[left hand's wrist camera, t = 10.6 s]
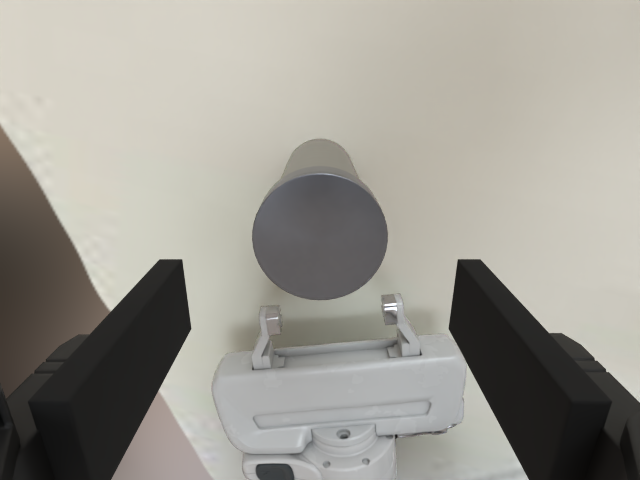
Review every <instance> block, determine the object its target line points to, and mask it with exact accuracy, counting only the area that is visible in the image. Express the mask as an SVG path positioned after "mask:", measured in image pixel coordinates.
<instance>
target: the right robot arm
mask: <svg viewBox="0 0 640 480" xmlns="http://www.w3.org/2000/svg"><path fill="white" fill-rule="evenodd" d="M381 302H382V315H383V317H384V322H385V325H389V324H396V325H397V327H398V328H399V329H397V338H386V339H374V340H364V341H352V342H341V343H330V344H319V345H307V346H296V347H285V348H274V349H273V344H272V341H271V340H269V338H270V335H278V334H281V327H282V322H283V321H282V315H281V314H280V311H281V309H280V305H271V306H261V308H260V312H259V322H260V328H261V330H260V332H259V334H258V337H257V339H256V341H255V345H254V349H253V350H251V351H240V352H229V353H227V354H225V356H224V357H223V358H222V360H221V361H220V363H219V364H218V366H217V369H216V371H215V374H214V377H213V381H212V394H213V399H214V403H215V406H216V409H217V412H218V415H219V418H220V421H221V423H222V426H223V428H224V431H225V433H226V435H227V437H228V439H229V440H230V442H231V443H232V444H233V445H234V446H235V447H236V448H237V449H239V450H240V451H242V452H243V461H242V469H243V474H244V476H245V477H246V478H247V479H249V480H396V475H397V460H396V442H395V439H396V438H401V437H413V436H417V435H418V436H419V435H423V434H432V435H438V434H444V433H446V432H447V429H448V428H452V427H454V426H455V425H457V424H459V423H461V422H462V420H463V417H464V399H463V393H464V388H465V381H466V371H467V366H466V361H465V359H464V357H463V355H462V353H461V351H460V349H459V347H458V345H457V344H456V343H455V341H454V340H453V339H451V338H450V337H449V336H448V335H447V334H430V335H419V336H417V334H416V332H415V329H414V327H413V325H412V324H411V323H410V321H409V320H408V319H407V318H406V316H405V315H404V305H403V300H402V298H401V295H400V294H390V295H381Z"/></svg>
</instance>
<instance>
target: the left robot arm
mask: <svg viewBox="0 0 640 480" xmlns="http://www.w3.org/2000/svg"><path fill="white" fill-rule="evenodd" d="M190 330H191V323H190V315H189V308H188V300H187V293H186V285H185V278H184V270H183V262H182V259H160V260H159V261H158V262H157V263H156V264H155V265H154V266H153V267H152V268H151V269H150V270H149V271H148V273H147V274H146V275H145V276H144V277H143V278H142V279H141V280H140V281H139V282H138V283H137V284H136V285H135V287H134V288H133V289H132V290H131V291H130V292H129V293H128V294H127V295H126V296H125V297H124V298H123V299H122V300H121V302H120V303H119V304H118V305H117V306H116V307H115V308H114V309H113V310H112V311H111V312H110V313H109V314H108V316H107V317H106V318H105V319H104V320H103V321H102V322H101V323H100V324H99V325H98V326H97V327H96V328H95V330H94V331H93V332H92V333H91V334H90V335H77V336H76V337H74V338H72V339H70V340H69V341H67V342H65V343H64V344H62V345H61V346H59V347H58V348H57V349H56V350H55V351H54V352H53V353H52V354H51V355H50V356H49V357H48V358H47V359H46V362H43V363H42V364H41V365H40V366H39V367H38V368H37V369H36V370H35V373H34V374H31V375H30V376H29V377H28V378H27V379H26V380H25V381H24V382H23V383H22V384H21V385H20V386H19V387H18V388H17V389H16V390H15V391H14V392H13V393H12V394H11V395H10V396H9V397H8V398H7V399H6V398H5V395H4V392H3V389H2V386H1V384H0V480H111V479H112V477H113V475H114V473H115V471H116V469H117V467H118V465H119V464H120V462H121V460H122V458H123V456H124V454H125V452H126V450H127V449H128V447H129V445H130V443H131V441H132V439H133V437H134V435H135V433H136V432H137V430H138V428H139V426H140V424H141V422H142V420H143V418H144V417H145V415H146V413H147V411H148V409H149V407H150V405H151V403H152V401H153V400H154V398H155V396H156V394H157V392H158V390H159V388H160V387H161V385H162V383H163V381H164V379H165V377H166V375H167V373H168V372H169V370H170V368H171V366H172V364H173V362H174V360H175V358H176V357H177V355H178V353H179V351H180V349H181V347H182V345H183V343H184V342H185V340H186V338H187V336H188V334H189V332H190ZM449 330H450V332H451V334H452V336H453V338H454V340H455V342H456V343H457V345H458V347H459V349H460V351H461V353H462V355H463V357H464V358H465V360H466V362H467V364H468V366H469V368H470V370H471V372H472V373H473V375H474V377H475V379H476V381H477V383H478V385H479V387H480V388H481V390H482V392H483V394H484V396H485V398H486V400H487V402H488V403H489V405H490V407H491V409H492V411H493V413H494V415H495V417H496V418H497V420H498V422H499V424H500V426H501V428H502V430H503V432H504V434H505V435H506V437H507V439H508V441H509V443H510V445H511V447H512V449H513V450H514V452H515V454H516V456H517V458H518V460H519V462H520V464H521V465H522V467H523V469H524V471H525V473H526V475H527V477H528V479H529V480H640V403H639V402H638V401H637V400H636V399H635V398H634V397H633V396H632V395H631V394H630V393H629V392H628V391H627V390H626V389H625V388H624V387H623V386H622V385H621V384H620V383H619V382H618V381H617V380H616V379H615V378H614V377H613V376H612V375H611V374H610V373H609V372H606V369H605V368H604V367H603V366H602V365H601V364H600V363H599V362H598V361H595V360H594V357H593V356H592V355H591V354H590V353H589V352H588V351H587V350H586V349H585V348H584V347H583V346H582V345H581V344H579V343H577V342H575V341H574V340H572V339H570V338H569V337H567V336H565V335H564V334H562V333H548V332H547V331H546V330H545V328H544V327H543V326H542V325H541V324H540V323H539V322H538V321H537V320H536V319H535V318H534V317H533V316H532V314H531V313H530V312H529V311H528V310H527V309H526V308H525V307H524V306H523V305H522V304H521V303H520V302H519V300H518V299H517V298H516V297H515V296H514V295H513V294H512V293H511V292H510V291H509V290H508V289H507V288H506V287H505V285H504V284H503V283H502V282H501V281H500V280H499V279H498V278H497V277H496V276H495V275H494V274H493V273H492V271H491V270H490V269H489V268H488V267H487V266H486V265H485V264H484V263H483V262H482V261H481V260H480V259H458V262H457V270H456V278H455V285H454V293H453V300H452V308H451V315H450V323H449Z"/></svg>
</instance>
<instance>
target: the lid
mask: <svg viewBox="0 0 640 480" xmlns="http://www.w3.org/2000/svg"><path fill="white" fill-rule="evenodd" d="M252 241H253V248H254V252H255V256H256V258H257V261H258V263H259V265H260V267H261V268H262V270H263V271H264V273H265V274H266V275H267V277H268V278H269V279H270V280H271V281H272V282H273V283H275V284H276V285H277V286H278V287H280V288H281V289H283V290H284V291H286V292H288V293H290V294H292V295H295V296H298V297H301V298H306V299H311V300H329V299H335V298H339V297H342V296H345V295H347V294H350V293H352V292H354V291H356V290H357V289H359V288H360V287H362V286H363V285H364V284H366V283H367V282H368V281H369V280H370V279H371V278H372V276H373V275H374V274H375V273H376V272H377V270H378V268H379V267H380V265H381V263H382V261H383V259H384V256H385V252H386V248H387V242H388V232H387V225H386V221H385V217H384V215H383V212H382V210H381V208H380V206H379V204H378V202H377V200H376V198H375V197H374V195H373V193H372V192H371V191H370V189H369V188H368V187H367V186H366V185H365V184H364V183H363V182H362V181H361V180H360V179H358V178H357V177H355V176H354V175H352V174H350V173H348V172H346V171H344V170H341V169H338V168H333V167H327V166H312V167H306V168H302V169H299V170H296V171H294V172H292V173H290V174H288V175H286V176H285V177H283V178H282V179H280V180H279V181H278V182H277V183H276V184H275V185H274V186H273V187H272V188H271V189H270V190H269V192H268V193H267V195H266V196H265V198H264V200H263V202H262V204H261V206H260V208H259V210H258V212H257V214H256V218H255V221H254V225H253V232H252Z"/></svg>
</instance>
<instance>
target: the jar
mask: <svg viewBox="0 0 640 480" xmlns="http://www.w3.org/2000/svg"><path fill="white" fill-rule="evenodd" d="M312 166H327V167H333V168H338V169H341V170H344V171H346V172H348V173H350V174H352V175H354V176H355V177H357V178H358V175H357V173H356V171H355V168H354V166H353V164H352V161H351V159H350V157H349V155H348V153H347V152H346V151H345V150H344V149H343V148H342V147H341V146H340V145H338V144H337V143H335V142H333V141H330V140H326V139H314V140H310V141H307V142H305V143H303V144H302V145H300V146H299V147H298V148H297V149H296V150H295V151H294V152H293V153H292V155H291V157H290V159H289V161H288V163H287V166H286V168H285V171H284V173H283V175H282V178H283V177H285V176H286V175H288V174H290V173H292V172H294V171H296V170H299V169H302V168H306V167H312ZM282 178H281V179H282ZM358 179H359V178H358Z"/></svg>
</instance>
